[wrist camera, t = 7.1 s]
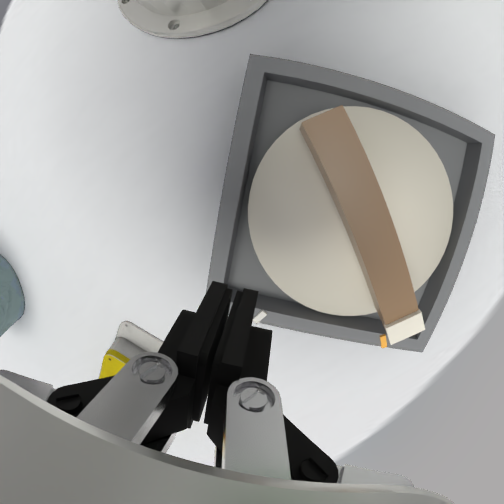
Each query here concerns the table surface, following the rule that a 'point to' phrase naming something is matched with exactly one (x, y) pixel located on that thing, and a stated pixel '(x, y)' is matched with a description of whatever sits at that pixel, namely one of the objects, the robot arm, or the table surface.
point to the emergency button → (127, 348)
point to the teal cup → (9, 297)
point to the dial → (352, 215)
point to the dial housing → (286, 115)
